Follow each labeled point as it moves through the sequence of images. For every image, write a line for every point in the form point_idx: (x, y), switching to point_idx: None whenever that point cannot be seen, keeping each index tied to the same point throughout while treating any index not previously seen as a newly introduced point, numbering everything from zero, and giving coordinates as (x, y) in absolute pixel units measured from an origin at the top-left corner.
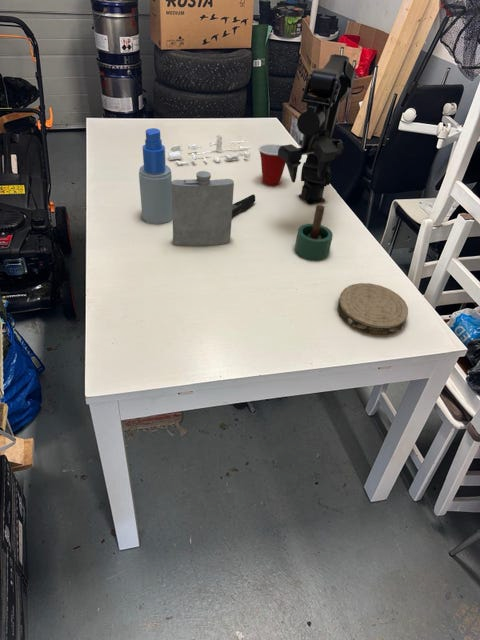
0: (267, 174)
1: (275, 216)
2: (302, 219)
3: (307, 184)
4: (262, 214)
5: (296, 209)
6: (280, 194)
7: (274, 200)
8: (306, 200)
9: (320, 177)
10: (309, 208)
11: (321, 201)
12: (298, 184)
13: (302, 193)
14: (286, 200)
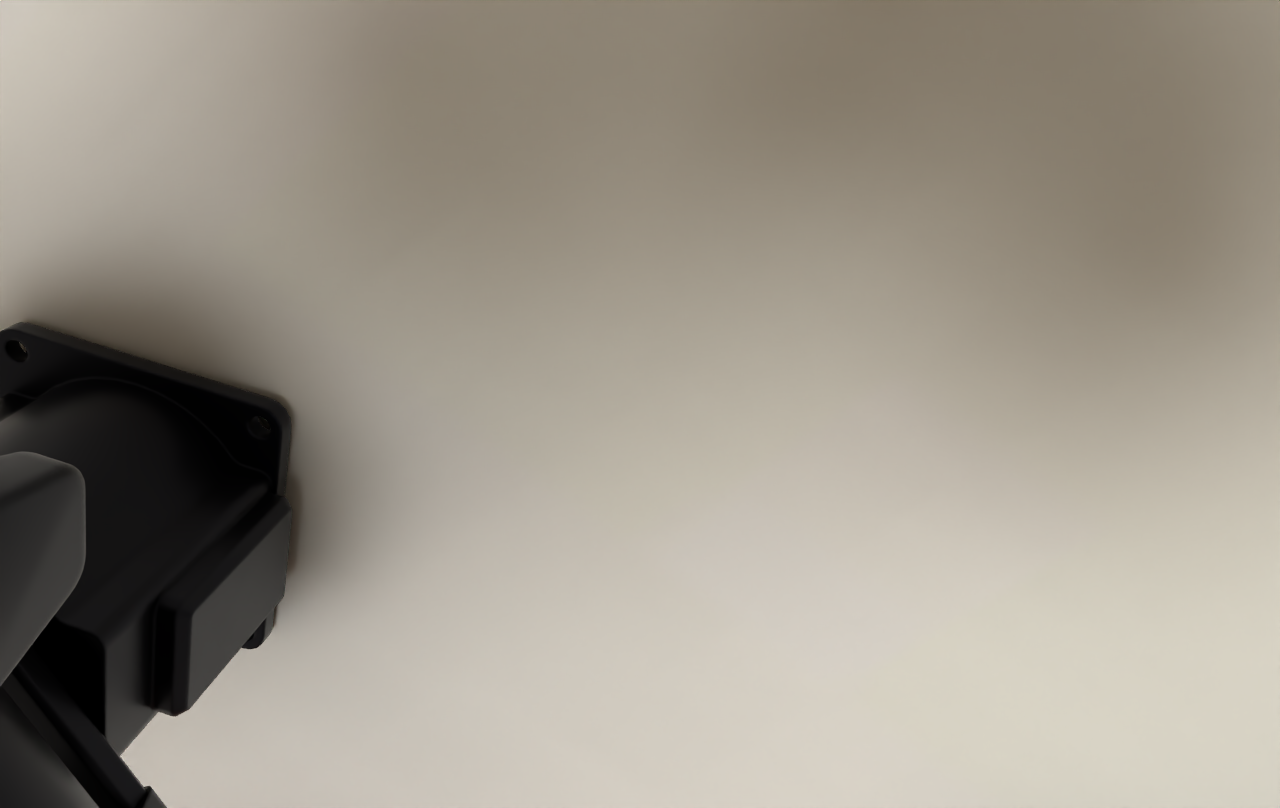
0: None
1: (1013, 525)
2: (733, 188)
3: (119, 682)
4: (1116, 678)
5: (561, 447)
6: (441, 803)
7: (631, 774)
8: (271, 492)
9: (35, 455)
10: (364, 341)
11: (73, 342)
12: None
13: (248, 618)
14: (489, 677)
